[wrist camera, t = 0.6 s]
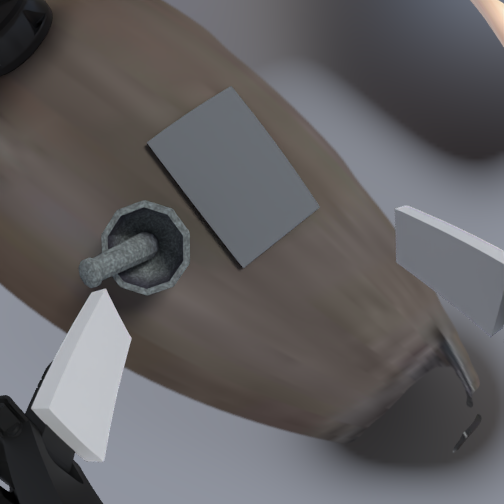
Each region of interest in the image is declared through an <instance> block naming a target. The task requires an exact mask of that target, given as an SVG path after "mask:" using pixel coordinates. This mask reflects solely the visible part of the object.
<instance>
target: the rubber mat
mask: <svg viewBox="0 0 504 504" xmlns="http://www.w3.org/2000/svg"><path fill="white" fill-rule="evenodd" d="M147 144H148V145H149V146H150V148H151V149H152V150H153V152H154V153H155V154H156V156H157V157H158V158H159V160H160V161H161V162H162V164H163V165H164V166H165V167H166V169H167V170H168V171H169V173H170V174H171V175H172V177H173V178H174V179H175V181H176V182H177V183H178V185H179V186H180V187H181V189H182V190H183V191H184V192H185V194H186V195H187V196H188V198H189V199H190V200H191V202H192V203H193V204H194V206H195V207H196V208H197V209H198V211H199V212H200V213H201V215H202V216H203V217H204V219H205V220H206V221H207V222H208V224H209V225H210V226H211V228H212V229H213V230H214V231H215V233H216V234H217V235H218V237H219V238H220V239H221V240H222V242H223V243H224V244H225V246H226V247H227V248H228V249H229V251H230V252H231V253H232V255H233V256H234V257H235V258H236V260H237V261H238V262H239V264H240V265H241V266H242V267H243V268H244V267H245V266H247V265H248V264H249V263H250V262H252V261H253V260H254V259H255V258H257V257H258V256H259V255H260V254H262V253H263V252H264V251H266V250H267V249H268V248H269V247H271V246H272V245H273V244H274V243H276V242H277V241H278V240H279V239H281V238H282V237H283V236H284V235H286V234H287V233H288V232H289V231H291V230H292V229H293V228H294V227H296V226H297V225H298V224H299V223H301V222H302V221H303V220H304V219H306V218H307V217H308V216H309V215H311V214H312V213H313V212H314V211H316V210H317V209H318V208H319V205H318V204H317V202H316V200H315V199H314V197H313V196H312V194H311V193H310V192H309V190H308V189H307V187H306V186H305V184H304V183H303V181H302V180H301V178H300V177H299V175H298V174H297V173H296V171H295V170H294V168H293V167H292V165H291V164H290V163H289V161H288V160H287V158H286V157H285V156H284V154H283V153H282V151H281V150H280V149H279V147H278V146H277V145H276V143H275V142H274V140H273V139H272V138H271V136H270V135H269V134H268V132H267V131H266V130H265V128H264V127H263V126H262V124H261V123H260V122H259V120H258V119H257V118H256V117H255V115H254V114H253V113H252V111H251V110H250V109H249V108H248V106H247V105H246V104H245V103H244V101H243V100H242V99H241V98H240V96H239V95H238V94H237V93H236V91H235V90H234V89H233V88H232V86H230V87H229V88H227V89H225V90H224V91H222V92H220V93H219V94H217V95H215V96H214V97H212V98H211V99H209V100H207V101H206V102H204V103H203V104H201V105H200V106H198V107H196V108H195V109H193V110H192V111H190V112H189V113H187V114H186V115H184V116H183V117H182V118H180V119H179V120H177V121H176V122H174V123H173V124H171V125H170V126H169V127H167V128H166V129H164V130H163V131H162V132H160V133H159V134H158V135H156V136H155V137H154V138H152V139H151V140H150V141H148V142H147Z"/></svg>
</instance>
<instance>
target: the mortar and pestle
mask: <svg viewBox="0 0 504 504" xmlns="http://www.w3.org/2000/svg"><path fill="white" fill-rule="evenodd" d="M101 237H102V253H101V254H99V255H98V256H96V257H94V258H87V259H84V260H82V261H81V262H80V265H79V273H80V277H81V279H82V281H83V282H84V284H85V285H87V286H88V287H90V288H93V287H97V286H99V285H100V284H101V282H102V280H105V279H107V278H109V277H111V276H112V277H113V278H114V279H115V281H116V282H117V283H118V285H119V286H120V287H122V288H125V289H128V290H131V291H134V292H137V293H141V294H144V295H150V294H153V293H156V292H159V291H162V290H165V289H168V288H171V287H174V285H175V284H176V282H177V281H178V279H179V278H180V277H181V275H182V274H183V272H184V271H185V269H186V268H187V266H188V265H189V264H190V232H189V231H188V229H187V228H186V226H185V225H184V224H183V222H182V221H181V220H180V218H179V217H178V215H177V214H176V213H175V211H174V210H173V209H172V208H168V207H165V206H162V205H159V204H156V203H152V202H149V201H146V200H143V201H140V202H138V203H135V204H132V205H130V206H127V207H124V208H122V209H119V210H117V211H116V213H115V214H114V216H113V217H112V219H111V220H110V222H109V224H108V225H107V227H106V228H105V230H104V232H103V233H102V235H101Z"/></svg>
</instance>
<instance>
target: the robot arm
mask: <svg viewBox="0 0 504 504" xmlns="http://www.w3.org/2000/svg"><path fill="white" fill-rule="evenodd" d="M51 23H52V11H51V9H50V7H49V6H48V4H47V3H46V2H45V1H44V0H0V76H2V75H4V74H6V73H8V72H10V71H12V70H14V69H15V68H16V67H18V66H19V65H20V64H22V63H23V62H24V61H25V60H26V59H27V58H28V57H29V56H30V55H31V54H32V53H33V52H34V51H35V50H36V49H37V47H38V46H39V45H40V44H41V42H42V41H43V39H44V38H45V36H46V34H47V33H48V31H49V28H50V26H51ZM395 228H396V262H397V263H398V264H399V265H401V266H402V267H403V268H405V269H406V270H407V271H409V272H410V273H412V274H413V275H414V276H416V277H417V278H418V279H420V280H421V281H422V282H423V283H425V284H426V285H427V286H429V287H430V288H431V289H433V290H434V291H435V292H436V293H438V294H439V295H440V296H442V297H443V298H444V299H445V300H447V301H448V302H449V303H450V304H452V305H453V306H454V307H455V308H457V309H458V310H459V311H460V312H462V313H463V314H464V315H465V316H466V317H467V318H469V319H470V320H471V321H472V322H474V323H475V324H476V325H477V326H478V327H479V328H480V329H482V330H483V331H484V332H485V333H486V334H487V335H489V336H490V337H492V336H493V335H494V334H496V333H497V332H498V331H499V330H501V329H502V328H503V325H504V251H503V250H501V249H500V248H498V247H496V246H494V245H491V244H490V243H488V242H486V241H484V240H482V239H480V238H478V237H476V236H474V235H472V234H470V233H468V232H466V231H464V230H462V229H460V228H458V227H456V226H453V225H451V224H449V223H447V222H445V221H443V220H440V219H438V218H436V217H434V216H431V215H429V214H426V213H424V212H422V211H419V210H417V209H415V208H412V207H410V206H408V205H406V206H403V207H399V208H395ZM130 342H131V337H130V335H129V333H128V331H127V330H126V328H125V326H124V324H123V322H122V320H121V318H120V316H119V314H118V312H117V310H116V308H115V306H114V304H113V302H112V300H111V298H110V296H109V294H108V292H107V290H106V289H102V290H98V291H95V292H92V293H91V294H90V296H89V298H88V299H87V301H86V302H85V304H84V306H83V307H82V309H81V311H80V313H79V314H78V316H77V318H76V319H75V321H74V323H73V325H72V326H71V328H70V330H69V332H68V334H67V335H66V337H65V339H64V341H63V343H62V345H61V347H60V348H59V351H58V352H57V354H56V356H55V358H54V360H53V361H52V362H51V363H50V365H49V366H48V367H47V368H46V370H45V372H44V374H43V376H42V380H40V382H39V384H38V388H36V390H35V393H34V395H33V397H32V399H31V402H30V404H29V406H28V408H27V411H26V413H25V414H24V413H23V411H22V410H21V409H20V408H19V407H18V406H17V405H16V404H15V402H14V401H13V400H12V399H11V398H10V397H9V396H7V395H3V396H0V479H1V480H2V481H3V482H5V483H6V484H7V485H9V487H10V491H7V490H5V489H4V488H2V487H1V486H0V504H103V503H102V501H101V500H100V498H99V497H98V496H97V494H96V492H95V491H94V489H93V488H92V486H91V485H90V483H89V481H88V480H87V478H86V476H85V475H84V473H83V471H82V470H81V468H80V466H79V465H78V464H77V463H76V462H75V461H74V460H73V458H74V453H76V454H78V455H79V456H80V457H81V458H82V459H84V460H85V461H87V462H88V461H89V462H104V460H105V454H106V448H107V441H108V437H109V431H110V426H111V421H112V416H113V412H114V407H115V402H116V398H117V393H118V389H119V385H120V380H121V377H122V372H123V368H124V365H125V361H126V357H127V353H128V349H129V346H130Z"/></svg>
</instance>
